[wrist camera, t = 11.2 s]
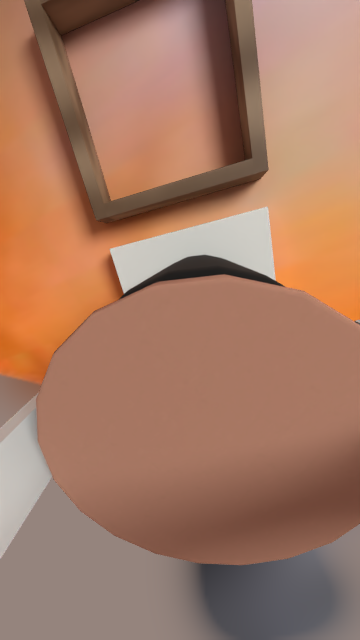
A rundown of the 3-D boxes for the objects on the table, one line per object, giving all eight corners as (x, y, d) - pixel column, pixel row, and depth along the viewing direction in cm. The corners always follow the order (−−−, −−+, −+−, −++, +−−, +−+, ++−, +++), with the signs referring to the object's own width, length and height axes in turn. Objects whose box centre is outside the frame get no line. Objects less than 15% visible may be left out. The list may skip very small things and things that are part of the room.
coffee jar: (168, 357, 26) (110, 573, 9) (139, 270, 23) (-41, 337, 6) (258, 338, 24) (409, 560, 7) (240, 240, 21) (431, 205, 4)
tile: (116, 249, 24) (109, 249, 22) (261, 210, 22) (267, 206, 20) (154, 370, 29) (151, 379, 27) (277, 349, 26) (283, 357, 24)
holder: (43, 22, 18) (20, -11, 16) (233, -67, 16) (239, -122, 14) (106, 223, 23) (96, 220, 21) (260, 178, 21) (268, 169, 18)
